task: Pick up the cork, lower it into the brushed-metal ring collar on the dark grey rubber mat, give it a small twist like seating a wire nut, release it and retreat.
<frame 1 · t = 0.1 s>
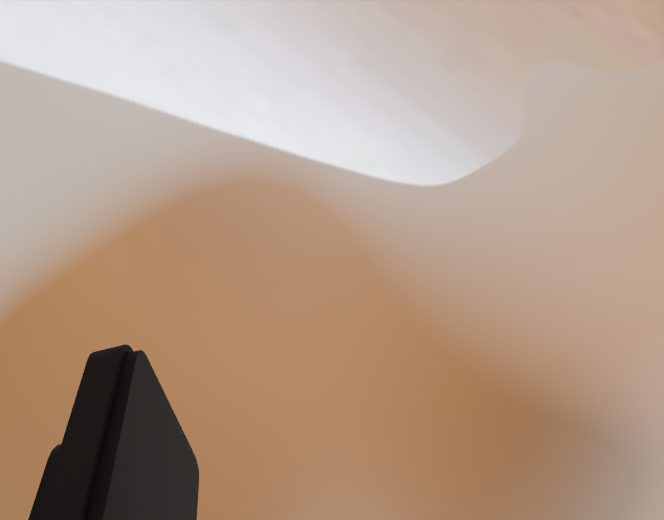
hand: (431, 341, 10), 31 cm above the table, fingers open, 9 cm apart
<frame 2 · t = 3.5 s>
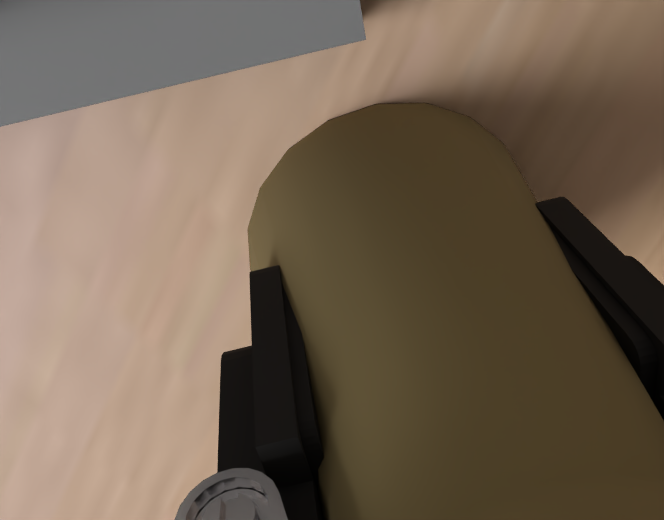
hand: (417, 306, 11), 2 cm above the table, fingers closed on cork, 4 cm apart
cork: (388, 236, 13), on the table, touching gripper
when the fingers open (5 cm above the table, at t = 7.9 s): cork drops 1 cm, resting on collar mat.
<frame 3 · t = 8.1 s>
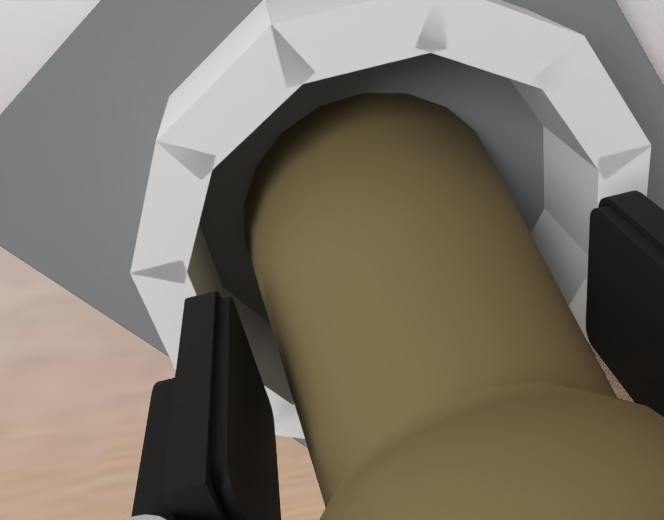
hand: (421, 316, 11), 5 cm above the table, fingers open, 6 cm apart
cork: (371, 215, 15), point 1 cm above the table, touching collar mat
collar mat: (367, 187, 15), on the table
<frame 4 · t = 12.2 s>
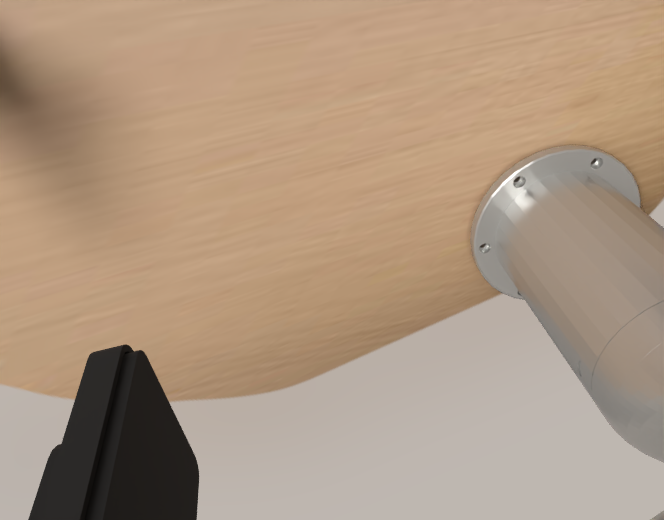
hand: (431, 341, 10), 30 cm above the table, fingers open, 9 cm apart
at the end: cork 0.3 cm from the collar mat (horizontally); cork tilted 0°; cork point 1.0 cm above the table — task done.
